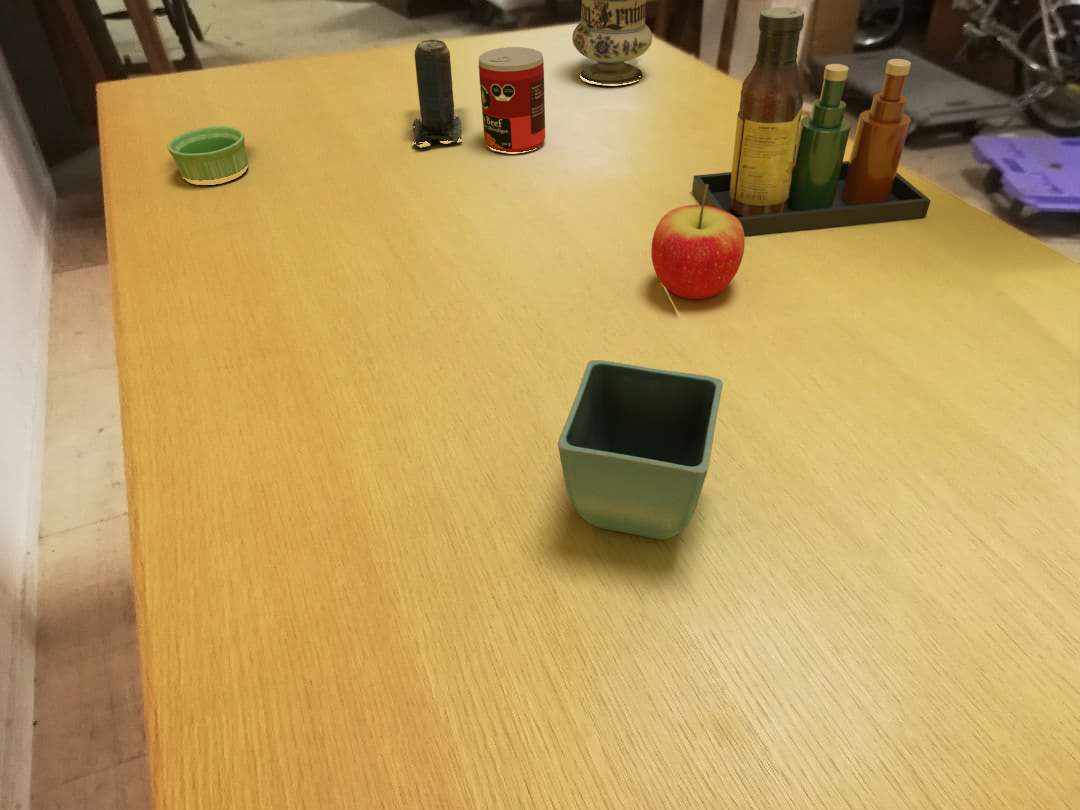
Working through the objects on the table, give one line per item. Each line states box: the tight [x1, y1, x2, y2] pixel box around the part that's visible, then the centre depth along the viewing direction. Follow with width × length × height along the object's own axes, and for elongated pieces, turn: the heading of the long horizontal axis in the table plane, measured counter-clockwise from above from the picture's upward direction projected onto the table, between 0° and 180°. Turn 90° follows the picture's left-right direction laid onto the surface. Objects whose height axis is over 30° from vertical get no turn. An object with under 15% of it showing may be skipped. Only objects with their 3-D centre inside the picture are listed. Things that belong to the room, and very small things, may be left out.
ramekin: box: [166, 125, 249, 181], centre depth 97 cm, size 9×9×4 cm
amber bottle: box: [841, 58, 912, 206], centre depth 82 cm, size 5×5×14 cm
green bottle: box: [786, 63, 852, 211], centre depth 82 cm, size 5×5×14 cm
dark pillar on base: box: [412, 39, 462, 147], centre depth 102 cm, size 9×8×12 cm
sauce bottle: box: [729, 7, 805, 217], centre depth 79 cm, size 7×6×20 cm
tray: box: [691, 160, 932, 238], centre depth 86 cm, size 22×11×2 cm, turn 99°
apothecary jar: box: [571, 0, 653, 84], centre depth 116 cm, size 12×12×18 cm
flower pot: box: [557, 359, 723, 541], centre depth 51 cm, size 9×9×9 cm
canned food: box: [478, 46, 546, 152], centre depth 99 cm, size 8×8×11 cm
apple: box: [650, 184, 746, 300], centre depth 71 cm, size 8×8×10 cm
